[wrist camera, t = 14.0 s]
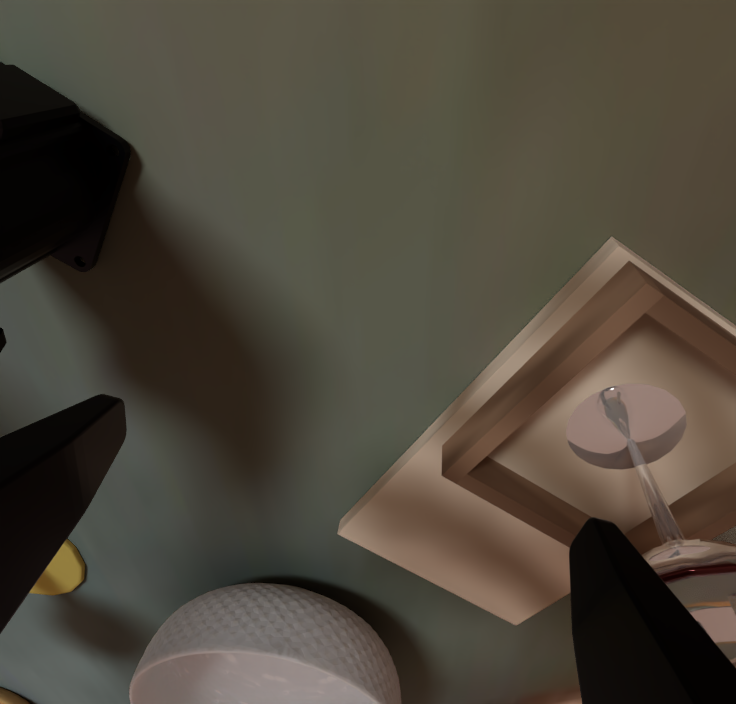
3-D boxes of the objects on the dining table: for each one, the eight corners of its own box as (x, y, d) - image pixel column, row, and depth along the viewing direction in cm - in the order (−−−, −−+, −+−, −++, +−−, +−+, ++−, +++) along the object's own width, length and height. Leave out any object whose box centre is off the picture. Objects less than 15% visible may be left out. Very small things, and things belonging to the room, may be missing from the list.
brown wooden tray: (514, 610, 33) (519, 658, 30) (340, 519, 30) (330, 564, 28) (842, 402, 22) (893, 451, 19) (611, 236, 19) (635, 267, 17)
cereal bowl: (333, 699, 43) (315, 807, 37) (149, 618, 40) (96, 722, 34) (457, 614, 34) (459, 738, 28) (233, 501, 31) (182, 614, 25)
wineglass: (669, 494, 24) (820, 818, 14) (527, 468, 25) (578, 767, 15) (741, 381, 21) (1011, 710, 11) (573, 353, 21) (683, 645, 11)
